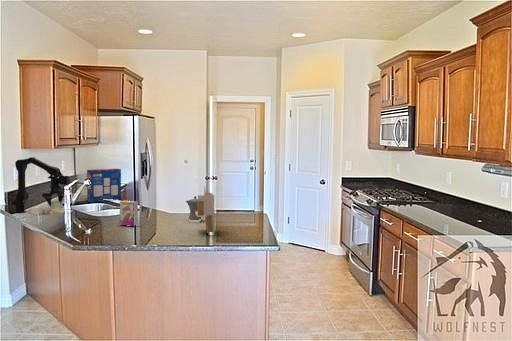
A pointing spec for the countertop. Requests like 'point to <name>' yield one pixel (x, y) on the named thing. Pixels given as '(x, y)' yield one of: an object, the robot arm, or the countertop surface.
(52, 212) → the birch block
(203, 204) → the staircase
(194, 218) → the coffeepot
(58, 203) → the sage cube
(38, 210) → the white cube
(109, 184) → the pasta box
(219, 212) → the countertop surface
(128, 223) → the candy bar box
